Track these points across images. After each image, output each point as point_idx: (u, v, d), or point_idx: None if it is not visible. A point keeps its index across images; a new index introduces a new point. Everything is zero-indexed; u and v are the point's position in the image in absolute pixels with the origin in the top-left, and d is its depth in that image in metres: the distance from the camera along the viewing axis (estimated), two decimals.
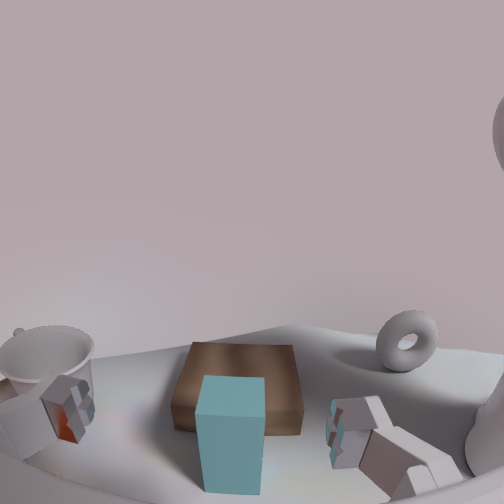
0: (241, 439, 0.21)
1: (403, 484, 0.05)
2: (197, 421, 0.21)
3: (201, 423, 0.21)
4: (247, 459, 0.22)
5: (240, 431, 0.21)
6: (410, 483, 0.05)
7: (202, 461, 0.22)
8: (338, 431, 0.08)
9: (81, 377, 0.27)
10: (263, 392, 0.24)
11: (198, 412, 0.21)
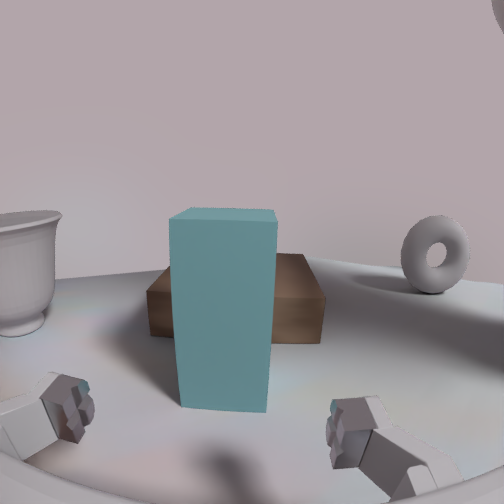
0: (238, 274, 0.15)
1: (403, 484, 0.05)
2: (171, 235, 0.15)
3: (177, 240, 0.15)
4: (248, 323, 0.16)
5: (237, 254, 0.15)
6: (410, 483, 0.05)
7: (176, 332, 0.16)
8: (338, 431, 0.08)
9: (37, 245, 0.21)
10: (273, 213, 0.17)
11: (174, 218, 0.15)
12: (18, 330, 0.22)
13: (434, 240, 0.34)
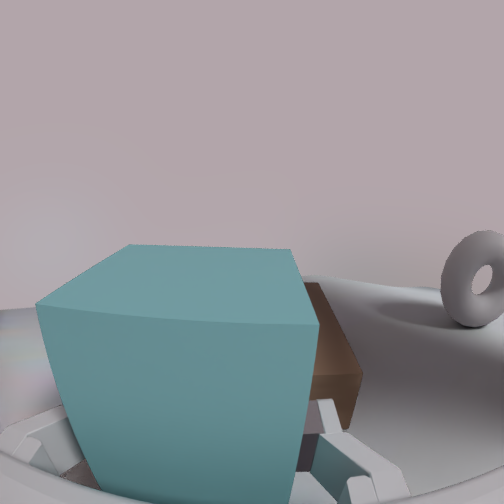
0: (213, 435, 0.05)
1: (344, 494, 0.05)
2: (48, 343, 0.05)
3: (62, 355, 0.05)
4: (240, 501, 0.06)
5: (208, 399, 0.05)
6: (348, 494, 0.05)
7: None
8: None
9: None
10: (294, 269, 0.08)
11: (48, 301, 0.05)
12: None
13: (483, 263, 0.24)
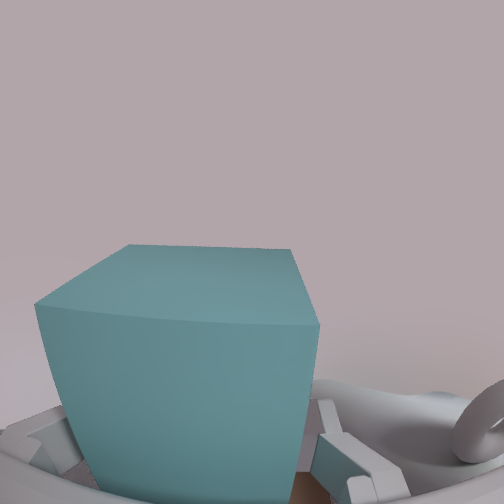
0: (213, 437, 0.05)
1: (344, 494, 0.05)
2: (47, 343, 0.05)
3: (61, 356, 0.05)
4: (240, 501, 0.06)
5: (207, 399, 0.05)
6: (349, 494, 0.05)
7: None
8: None
9: None
10: (294, 269, 0.08)
11: (47, 301, 0.05)
12: None
13: None
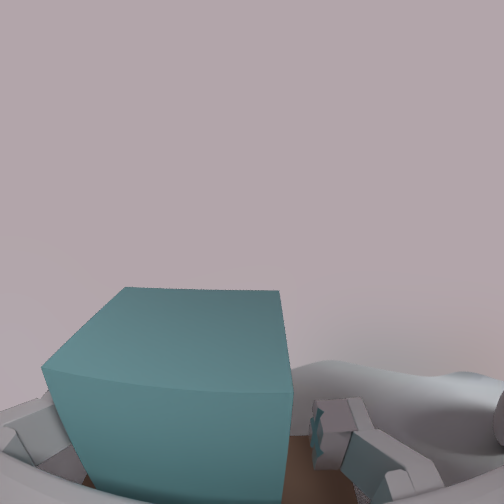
0: (206, 474, 0.06)
1: (381, 488, 0.05)
2: (56, 398, 0.05)
3: (69, 408, 0.05)
4: None
5: (199, 447, 0.06)
6: (387, 488, 0.05)
7: None
8: (319, 432, 0.08)
9: None
10: (279, 319, 0.08)
11: (52, 364, 0.05)
12: None
13: None
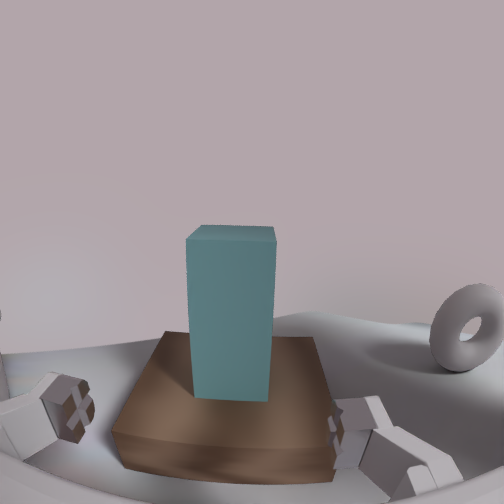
0: (244, 284, 0.18)
1: (403, 484, 0.05)
2: (188, 253, 0.18)
3: (193, 257, 0.18)
4: (252, 325, 0.19)
5: (243, 268, 0.18)
6: (410, 483, 0.05)
7: (191, 333, 0.19)
8: (338, 431, 0.08)
9: None
10: (272, 231, 0.21)
11: (190, 238, 0.18)
12: None
13: (472, 317, 0.25)
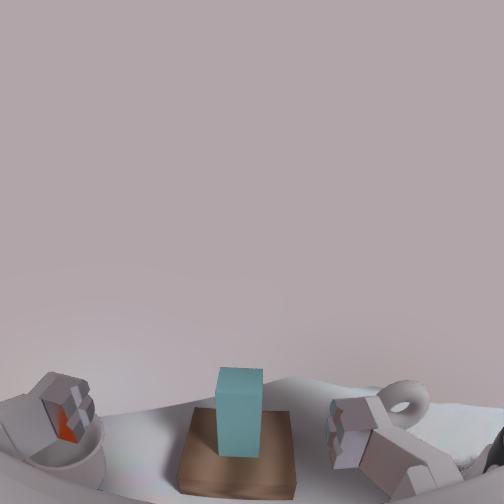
0: (246, 411, 0.33)
1: (403, 484, 0.05)
2: (216, 398, 0.32)
3: (219, 399, 0.32)
4: (250, 426, 0.33)
5: (245, 404, 0.32)
6: (410, 483, 0.05)
7: (218, 429, 0.33)
8: (338, 431, 0.08)
9: (95, 459, 0.27)
10: (261, 378, 0.35)
11: (217, 391, 0.32)
12: None
13: (397, 403, 0.40)
